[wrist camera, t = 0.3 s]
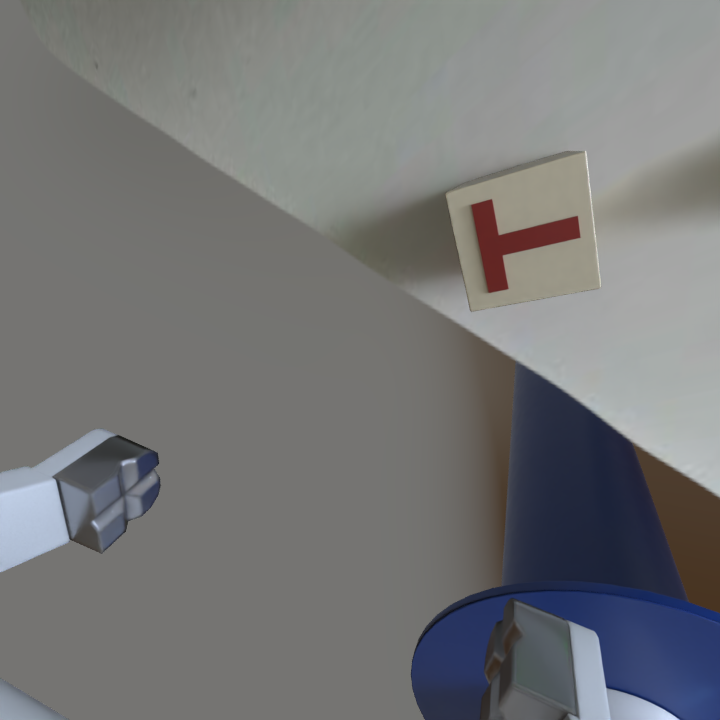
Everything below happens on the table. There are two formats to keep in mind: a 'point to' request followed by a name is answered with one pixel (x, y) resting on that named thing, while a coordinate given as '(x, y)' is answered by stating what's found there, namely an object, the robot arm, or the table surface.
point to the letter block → (526, 232)
